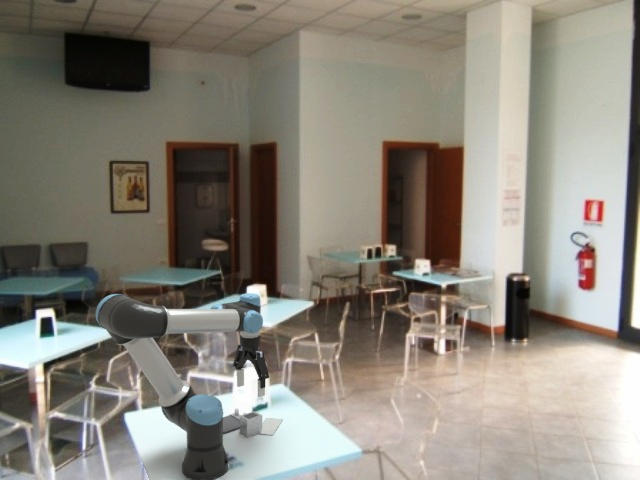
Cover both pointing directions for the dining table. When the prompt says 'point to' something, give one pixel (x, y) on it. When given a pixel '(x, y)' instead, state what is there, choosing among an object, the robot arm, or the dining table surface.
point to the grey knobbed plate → (231, 422)
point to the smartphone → (270, 426)
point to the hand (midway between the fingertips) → (250, 391)
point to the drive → (250, 424)
